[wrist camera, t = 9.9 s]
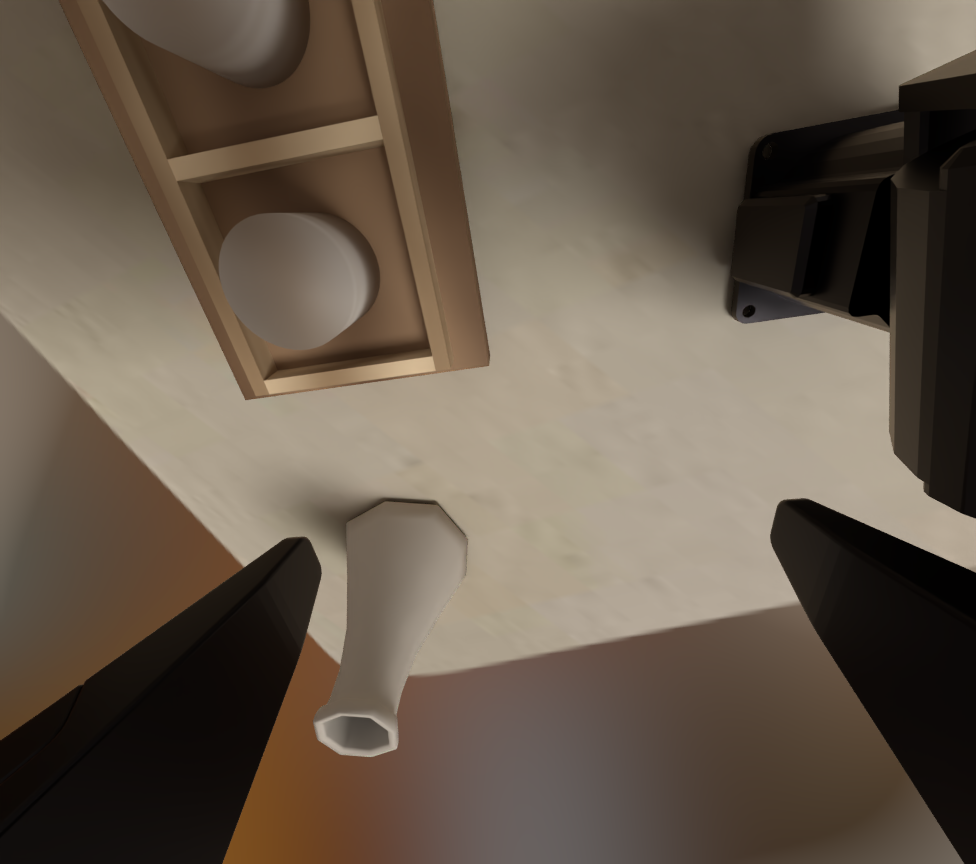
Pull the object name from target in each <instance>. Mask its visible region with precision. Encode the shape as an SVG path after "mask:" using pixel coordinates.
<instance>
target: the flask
mask: <svg viewBox="0 0 976 864" xmlns="http://www.w3.org/2000/svg"><path fill="white" fill-rule="evenodd" d="M346 545H347V630H346V636H345V642H344V648H343V654H342V659H341V665H340V671H339V674H338V677H337V680H336V682H335V686H334V688H333V691H332V694H331V697H330V699H329V701H328V703H327V705H324V706H322V707H321V708H320V709H319V710H318V711H317V713H316V714H315V717H314V721H313V724H314V728H315V732H316V736H317V740H319V741H320V742H322V743H323V744H325V745H326V746H328V747H329V748H331V749H332V750H334V751H335V752H337V753H339V754H340V755H354V756H366V757H367V756H368V757H373V756H376V755H379V754H382V753H386V752H389V751H392V750H395V749H397V746H398V724H397V716H396V714H397V710H398V705H399V701H400V696H401V692H402V690H403V687H404V685H405V682H406V680H407V677H408V675H409V672H410V670H411V667H412V665H413V662H414V660H415V657H416V655H417V653H418V651H419V650H420V648H421V646H422V645H423V643H424V641H425V640H426V638H427V636H428V635H429V633H430V631H431V630H432V628H433V626H434V625H435V623H436V621H437V620H438V618H439V616H440V615H441V613H442V612H443V610H444V608H445V607H446V605H447V604H448V602H449V601H450V599H451V598H452V596H453V595H454V593H455V592H456V590H457V589H458V587H459V586H460V584H461V582H462V581H463V579H464V578H465V576H466V564H467V545H468V539H467V538H466V537H465V535H464V534H463V533H462V532H461V531H460V530H459V529H458V527H457V526H456V525H455V524H454V523H453V522H452V521H451V519H450V518H449V517H448V516H447V515H446V514H445V513H444V511H443V510H442V509H441V508H440V507H439V506H438V505H430V504H416V503H402V502H388V501H385V502H383V503H381V504H380V505H378V506H376V507H374V508H372V509H370V510H369V511H367V512H365V513H363V514H361V515H360V516H358V517H356V518H354V519H352V520H351V521H349V522H347V523H346Z"/></svg>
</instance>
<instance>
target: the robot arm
mask: <svg viewBox="0 0 976 864" xmlns="http://www.w3.org/2000/svg"><path fill="white" fill-rule="evenodd" d="M767 144H769V145H770V146H771V150H772V151H771V154H770V156H769V157H768V158H767V159H765V158H764V157H763V155H762V152H763V149H764V147H765V146H766V145H767ZM731 276H732V277H733V278H734V279H735V283H734V292H733V301H732V310H731V312H732V317H733V318H734V319H735V320H737V321H739V322H741V323H754V322H761V321H768V320H775V319H782V318H789V317H797V316H804V315H811V314H818V313H825V312H827V313H830V314H833V315H836V316H839V317H842V318H845V319H849V320H852V321H855V322H858V323H861V324H864V325H867V326H871V327H874V328H877V329H880V330H883V331H886V332H889V333H890V388H889V433H890V437H891V442H892V446H893V451H894V454H895V455H896V456H897V457H898V458H899V459H900V460H901V461H902V462H903V463H904V464H905V465H906V466H907V467H908V468H909V469H910V470H911V471H912V472H913V474H914V475H915V476H916V477H917V478H919V479H921V480H922V481H924V485H923V488H924V492H925V493H926V494H927V495H928V496H930V497H931V498H933V499H935V500H937V501H939V502H941V503H943V504H945V505H947V506H949V507H950V508H952V509H954V510H956V511H958V512H960V513H962V514H965V515H967V516H970V517H973V518H976V50H975V51H973V52H970V53H968V54H966V55H964V56H962V57H959V58H957V59H955V60H953V61H951V62H949V63H946V64H944V65H942V66H940V67H938V68H936V69H933V70H931V71H929V72H927V73H925V74H923V75H920V76H918V77H916V78H914V79H912V80H909V81H907V82H905V83H903V84H901V85H899V110H896V111H891V112H885V113H880V114H874V115H869V116H864V117H858V118H853V119H848V120H842V121H837V122H831V123H826V124H821V125H815V126H810V127H804V128H799V129H794V130H788V131H783V132H778V133H772V134H769V135H765V136H763V137H760V138H759V139H758V140H757V141H756V142H755V143H754V144H753V146H752V147H751V149H750V153H749V159H748V168H747V177H746V186H745V194H744V201H743V202H742V203H741V204H740V206H739V207H738V212H737V221H736V231H735V240H734V249H733V259H732V268H731ZM748 305H750V307H751V309H750V311H749V312H748V313H747V314H746V315H743V313H742V312H743V309H744V308H745V307H746V306H748ZM770 539H771V544H772V547H773V549H774V551H775V553H776V555H777V557H778V559H779V561H780V563H781V565H782V567H783V569H784V571H785V573H786V575H787V577H788V579H789V581H790V583H791V585H792V587H793V589H794V591H795V593H796V595H797V597H798V599H799V601H800V603H801V605H802V607H803V609H804V611H805V612H806V614H807V616H808V618H809V620H810V622H811V624H812V625H813V627H814V629H815V630H816V632H817V634H818V635H819V637H820V639H821V640H822V642H823V643H824V645H825V646H826V648H827V650H828V651H829V653H830V654H831V656H832V657H833V659H834V661H835V662H836V664H837V665H838V667H839V668H840V670H841V672H842V673H843V675H844V676H845V678H846V679H847V681H848V682H849V684H850V686H851V687H852V689H853V690H854V692H855V693H856V695H857V696H858V698H859V699H860V701H861V703H862V704H863V706H864V708H865V709H866V711H867V712H868V714H869V715H870V717H871V718H872V720H873V722H874V723H875V725H876V726H877V728H878V729H879V731H880V732H881V734H882V735H883V737H884V739H885V740H886V742H887V743H888V745H889V747H890V748H891V750H892V751H893V753H894V754H895V756H896V758H897V759H898V761H899V762H900V764H901V765H902V767H903V768H904V770H905V772H906V773H907V775H908V776H909V778H910V779H911V781H912V782H913V784H914V786H915V787H916V789H917V790H918V792H919V794H920V795H921V797H922V798H923V800H924V801H925V803H926V804H927V806H928V808H929V809H930V811H931V812H932V814H933V815H934V817H935V818H936V820H937V822H938V823H939V825H940V826H941V828H942V830H943V831H944V833H945V834H946V836H947V837H948V839H949V841H950V842H951V844H952V845H953V847H954V848H955V850H956V851H957V853H958V854H959V856H960V858H961V859H962V861H963V862H964V864H976V573H975V572H973V571H971V570H969V569H966V568H964V567H962V566H960V565H957V564H955V563H953V562H950V561H948V560H946V559H944V558H941V557H939V556H937V555H935V554H932V553H930V552H928V551H925V550H923V549H921V548H919V547H916V546H914V545H912V544H910V543H907V542H905V541H903V540H900V539H898V538H896V537H894V536H891V535H889V534H887V533H885V532H882V531H880V530H878V529H875V528H873V527H871V526H869V525H866V524H864V523H862V522H860V521H857V520H855V519H853V518H850V517H848V516H846V515H844V514H841V513H839V512H837V511H835V510H832V509H830V508H828V507H825V506H823V505H821V504H819V503H816V502H814V501H812V500H809V499H805V498H800V499H787V500H783V501H781V502H780V503H779V504H778V506H777V509H776V513H775V517H774V521H773V525H772V529H771V534H770ZM321 574H322V572H321V565H320V563H319V560H318V558H317V556H316V553H315V551H314V549H313V546H312V544H311V542H310V540H309V539H308V538H307V537H291V538H286V539H284V540H282V541H281V542H279V543H278V544H277V545H275V546H274V547H272V548H271V549H270V550H268V551H267V552H265V553H264V554H263V555H261V556H260V557H258V558H257V559H256V560H254V561H253V562H251V563H250V564H249V565H247V566H246V567H244V568H243V569H242V570H240V571H239V572H237V573H236V574H234V575H233V576H232V577H230V578H229V579H228V580H226V581H225V582H223V583H222V584H220V585H219V586H218V587H217V588H215V589H213V590H212V591H211V592H209V593H208V594H206V595H205V596H204V597H202V598H201V599H199V600H198V601H197V602H195V603H194V604H193V605H191V606H190V607H188V608H187V609H185V610H184V611H183V612H181V613H180V614H178V615H177V616H176V617H174V618H173V619H171V620H170V621H169V622H167V623H166V624H164V625H163V626H162V627H160V628H159V629H157V630H156V631H155V632H153V633H152V634H151V635H149V636H147V637H146V638H145V639H143V640H142V641H140V642H139V643H138V644H136V645H135V646H133V647H132V648H131V649H129V650H128V651H126V652H125V653H124V654H122V655H121V656H120V657H118V658H117V659H115V660H114V661H112V662H111V663H110V664H108V665H107V666H105V667H104V668H103V669H101V670H100V671H99V672H97V673H96V674H94V675H93V676H91V677H90V678H89V679H87V680H86V681H85V683H84V685H79V686H77V687H76V688H74V689H73V690H72V691H70V692H69V693H67V694H66V695H65V696H63V697H62V698H60V699H59V700H58V701H56V702H55V703H53V704H52V705H51V706H49V707H48V708H46V709H45V710H43V711H42V712H41V713H39V714H38V715H36V716H35V717H33V718H32V719H31V720H29V721H28V722H26V723H25V724H23V725H22V726H21V727H19V728H18V729H16V730H15V731H13V732H12V733H10V734H9V735H8V736H6V737H5V738H3V739H2V740H0V864H222V863H223V860H224V857H225V855H226V852H227V849H228V847H229V844H230V841H231V839H232V836H233V833H234V831H235V828H236V825H237V823H238V820H239V817H240V815H241V812H242V809H243V807H244V804H245V801H246V799H247V796H248V793H249V791H250V788H251V785H252V782H253V780H254V777H255V774H256V772H257V769H258V767H259V764H260V761H261V759H262V756H263V753H264V751H265V748H266V745H267V742H268V740H269V737H270V734H271V732H272V729H273V726H274V724H275V721H276V718H277V716H278V713H279V710H280V708H281V705H282V702H283V700H284V697H285V694H286V691H287V689H288V686H289V683H290V681H291V678H292V676H293V673H294V670H295V668H296V665H297V662H298V659H299V656H300V653H301V650H302V647H303V643H304V640H305V637H306V633H307V629H308V625H309V622H310V618H311V614H312V610H313V606H314V603H315V599H316V595H317V591H318V588H319V584H320V580H321Z"/></svg>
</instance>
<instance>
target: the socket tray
mask: <svg viewBox="0 0 976 864" xmlns="http://www.w3.org/2000/svg"><path fill="white" fill-rule="evenodd" d="M59 2H60V5H61V7H62V9H63V11H64V13H65V15H66V17H67V20H68V22H69V24H70V26H71V28H72V30H73V32H74V35H75V37H76V39H77V41H78V43H79V45H80V47H81V49H82V52H83V54H84V56H85V58H86V60H87V62H88V64H89V67H90V69H91V71H92V73H93V75H94V77H95V79H96V82H97V84H98V86H99V88H100V90H101V92H102V94H103V96H104V99H105V101H106V103H107V105H108V107H109V109H110V111H111V114H112V116H113V118H114V120H115V122H116V124H117V126H118V129H119V131H120V133H121V135H122V137H123V139H124V141H125V144H126V146H127V148H128V150H129V152H130V154H131V156H132V158H133V161H134V163H135V165H136V167H137V169H138V171H139V173H140V176H141V178H142V180H143V182H144V184H145V186H146V188H147V191H148V193H149V195H150V197H151V199H152V201H153V203H154V206H155V208H156V210H157V212H158V214H159V216H160V218H161V220H162V223H163V225H164V227H165V229H166V231H167V233H168V235H169V238H170V240H171V242H172V244H173V246H174V248H175V250H176V253H177V255H178V257H179V259H180V261H181V263H182V265H183V268H184V270H185V272H186V274H187V276H188V278H189V280H190V282H191V285H192V287H193V289H194V291H195V293H196V295H197V297H198V300H199V302H200V304H201V306H202V308H203V310H204V312H205V315H206V317H207V319H208V321H209V323H210V325H211V327H212V330H213V332H214V334H215V336H216V338H217V340H218V342H219V344H220V347H221V349H222V351H223V353H224V355H225V357H226V359H227V362H228V364H229V366H230V368H231V370H232V372H233V374H234V377H235V379H236V381H237V383H238V385H239V387H240V389H241V392H242V394H243V396H244V398H245V400H250V399H257V398H264V397H271V396H278V395H285V394H292V393H299V392H306V391H313V390H321V389H328V388H335V387H342V386H349V385H356V384H363V383H370V382H377V381H385V380H392V379H399V378H406V377H413V376H420V375H427V374H434V373H441V372H448V371H456V370H463V369H470V368H477V367H484V366H489V360H490V352H489V346H488V339H487V333H486V327H485V321H484V315H483V308H482V302H481V296H480V290H479V283H478V277H477V271H476V265H475V259H474V252H473V246H472V240H471V234H470V228H469V221H468V215H467V209H466V203H465V196H464V190H463V184H462V178H461V172H460V165H459V159H458V153H457V147H456V141H455V134H454V128H453V122H452V116H451V109H450V103H449V97H448V91H447V85H446V78H445V72H444V66H443V60H442V54H441V47H440V41H439V35H438V29H437V22H436V16H435V10H434V4H433V0H59Z"/></svg>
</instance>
